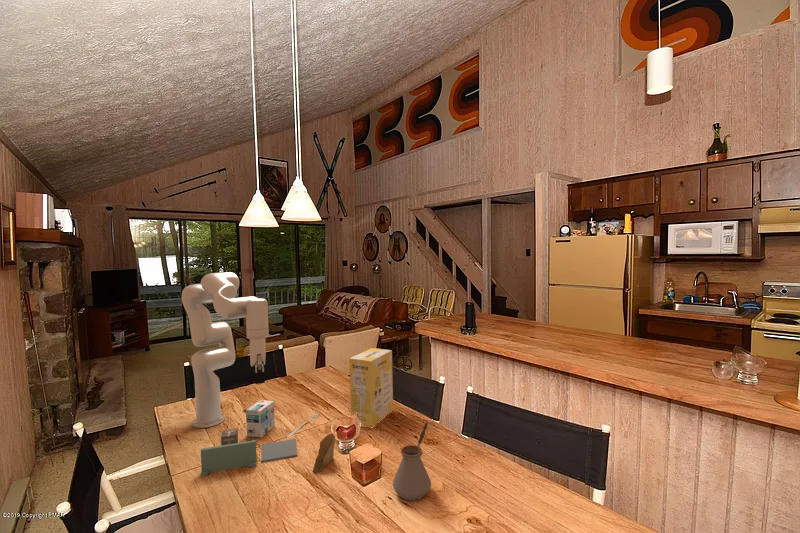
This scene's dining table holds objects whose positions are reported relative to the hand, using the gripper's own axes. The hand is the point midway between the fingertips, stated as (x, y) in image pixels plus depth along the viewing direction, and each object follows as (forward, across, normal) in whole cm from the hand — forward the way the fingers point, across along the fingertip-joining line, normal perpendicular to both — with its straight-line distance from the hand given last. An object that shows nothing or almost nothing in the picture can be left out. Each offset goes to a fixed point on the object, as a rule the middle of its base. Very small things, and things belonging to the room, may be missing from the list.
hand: (259, 379), depth 137 cm
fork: (+27, -14, +16) cm, 35 cm away
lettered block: (+27, -3, -11) cm, 29 cm away
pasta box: (+27, -9, +46) cm, 54 cm away
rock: (+27, +18, +19) cm, 37 cm away
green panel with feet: (+27, +7, -11) cm, 30 cm away
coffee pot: (+27, +41, +44) cm, 66 cm away
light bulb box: (+27, -17, +1) cm, 32 cm away
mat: (+27, +3, +6) cm, 27 cm away
